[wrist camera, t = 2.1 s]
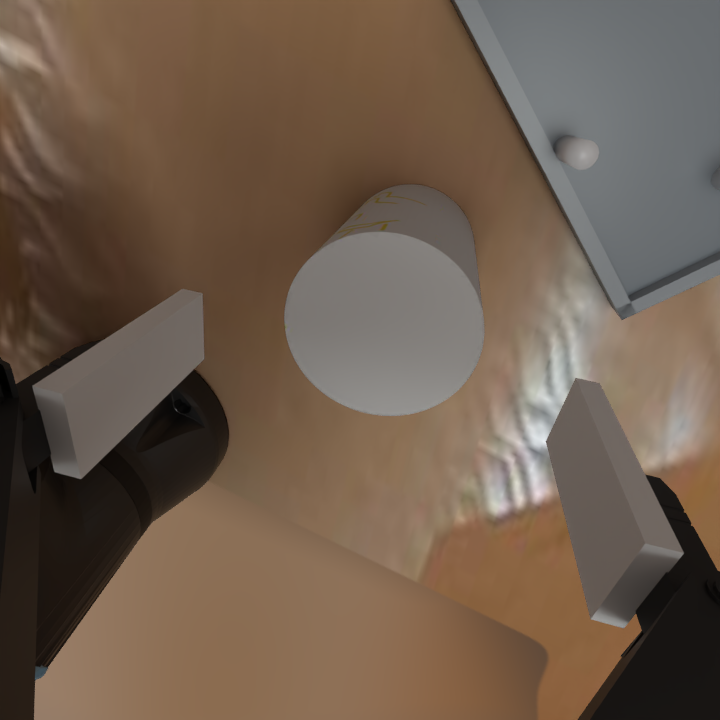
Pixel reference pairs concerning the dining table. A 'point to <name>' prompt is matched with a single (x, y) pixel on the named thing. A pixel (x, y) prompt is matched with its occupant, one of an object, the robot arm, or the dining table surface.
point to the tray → (618, 129)
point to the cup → (390, 305)
